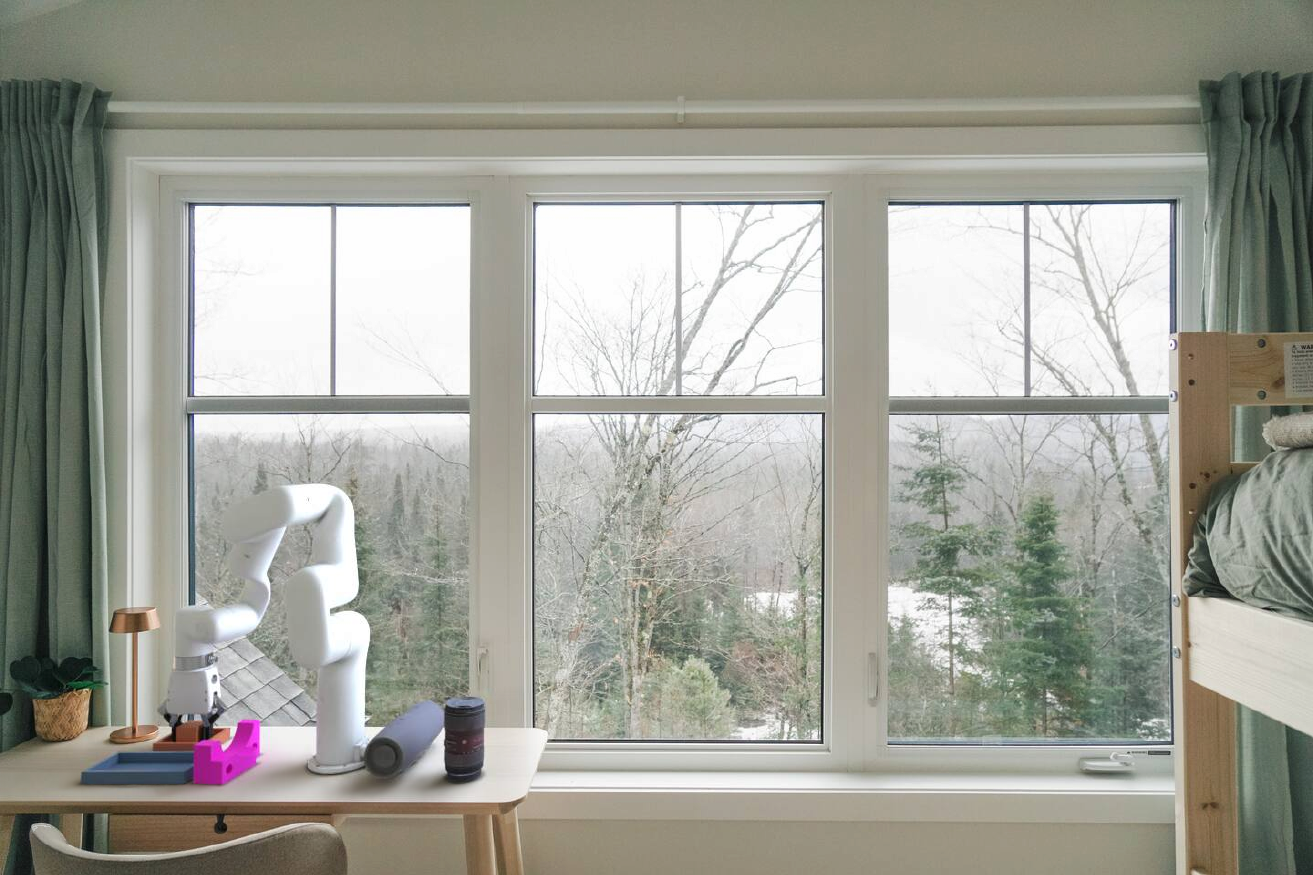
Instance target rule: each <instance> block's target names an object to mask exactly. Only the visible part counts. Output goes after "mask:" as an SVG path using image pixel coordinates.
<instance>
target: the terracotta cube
mask: <svg viewBox="0 0 1313 875" xmlns="http://www.w3.org/2000/svg"><path fill="white" fill-rule="evenodd" d="M182 723H183V724H182V725H180V726H178V727H176V742H201V728H202V727H203V726H204V724H203V721H202V720H187V721H185V722H182Z"/></svg>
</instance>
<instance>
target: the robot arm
mask: <svg viewBox="0 0 1313 875" xmlns="http://www.w3.org/2000/svg"><path fill="white" fill-rule="evenodd" d="M313 523H314V524H316V529H315V531H314V533H313V536H312V541H311V551H312V565H309V566H305V567H303V568H300V569H298V570H297V571H296V572H294V573H293V574H292V576H291V577H290V578H289V580H288V582H287V585H286V587H285V591H284V592H285V593H284V603H285V615H286V616H285V617H286V627H287V628H286V629H287V639H288V640H287V641H288V648H289V652H290V655H291V657H292V659H293V660H294V662H295V663H296V664H297V665H298V666H299V667H301V668H303V669H306V670H317V669H318V673H317V676H316V678H317V679H316V706H315V707H316V709H315V710H316V712H315V713H316V714H315V715H316V716H315V717H316V720H315V722H316V723H315V724H316V726H315V730H316V731H315V732H316V734H315V745H316V746H315V754H313V755H312V756H310V757H309V759H308V761H307V768H308V769H309V770H310V771H311V772H313V773H316V774H326V775H331V774H341V773H347V772H351V771H354V770H358V769H360V768H362V767H364V766H365V764H364V752H365V749H366V747H367V745H368V744H369V743H370V735H365V733H366V732H365V729H366V726H365V724H366V718H365V717H366V716H365V714H366V710H365V709H366V667H367V666H366V665H367V657H368V653H369V652H368V651H369V646H370V641H371V629H370V625H369V622H368V621H367V619H366V618H365V617H364V615H362V614H361V613H359V612H358V611H354V610H342V611H338V612H334V613H331V612H330V610H332V609H334V608H338V607H340V606H341V607H342V606H344V605H346V604H349V603H350V602H352V601H353V600H354V599H355V598H356V597H357V595H358V593H359V584H360V583H359V572H358V560H357V559H358V558H357V549H356V538H355V511H354V507H353V504H352V501H351V499H350V498H349V496H348V494H347V493H345V492H344V491H343V490H342V489H340V488H339V487H336V486H334V485H332V484H327V483H317V482H316V483H315V482H314V483H297V484H286V485H285V484H283V485H277V486H273V487H270V488H267V489H265V490H262V491H261V492H259V493H257V494H254V495H252V496H250V497H248V498H245V499H243V500H241V501H239V502H237V503H234V504H233V505H231V506H230V507H229V508H227V509H226V510H225V512H224V513H223V515H222V517H221V519H220V523H219V529H220V534H221V536H222V538H223V539H224V540H225V541H226V542H228V543H229V544H232V547H231V549H230V552H229V554H228V556H227V559H226V561H225V567H226V569H227V570H228V571H229V572H230V573H231V574H232V575H234V576H235V577H237V578H240V579H243V580H244V584H243V588H242V591H241V594H240V596H239V598H238V599H237V602H235V603H232V604H231V603H230V604H228V605H223V606H219V607H216V608H212V607H211V606H209V605H205V604H193V605H185V606H181V607H179V608H178V609H176V610H175V612H174V616H173V668H171V670H170V672H169V676H168V680H167V687H166V697H165V700H164V701H163V702H162V704H160V705H159V707H158V708H157V713H158V714H160V715H161V716H162V717H163V719H164V720H165V721H166V722H167V724H168V727H170V728H171V733H172V742H176V727H178V726H180V725H182V724H183V723H184V722H182V721H183V718H184V716H185V715H199V716H200V718H201V721H203V724H204V726H203V727H202V728H201V741H203V740H209V739H210V738H212V737H213V728H214V724H215V723H216V722H217V720H218V719H219V718H221V716H222V715H224V714H225V713H226V712H227V711H228V710H229V707H228V706H227V704H226V703H225V702H224V701H223V700H222V693H221V682H220V675H219V671H218V667H217V665H215V664H216V663H218V661H219V657H218V656H215V655H214V652H213V651H214V645H216V644H217V645H218V644H220V643H223V642H227V641H229V640H232V639H236V638H239V637H243V636H245V635H246V636H247V635H249V634H250V633H252V632H253V631H254V630H256V629H257V627H258V626H259V625H260V623H261V621H262V619H263V618H264V615H265V612H266V611H267V609H268V606H269V603H270V600H271V582H270V579H269V577H268V571H269V569H270V566H271V565H272V562H273V559H274V557H275V555H276V552H277V550H278V549H279V546H280V543H281V541H282V539H283V536H284V534H285V532H286V530H287V527H291V526H298V525H305V524H313ZM214 663H215V664H214ZM215 709H216V711H215V712H214V710H215Z"/></svg>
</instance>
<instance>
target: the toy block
mask: <svg viewBox="0 0 1313 875" xmlns="http://www.w3.org/2000/svg"><path fill="white" fill-rule="evenodd" d="M236 725H237V726H236V730H235V731H236V732H235V733H234V736H233V738H232V740H231V742H230V744H229V745H228V746H227V747H226V749H223V746H222V744H221V741H212V740H203V741H201V742H199V743H197V744H195V745H194V777H193V784H201V785H220V786H223V785H224V784H226V783H228V782H229V781H231V780H233V779H235V778H236V777H238V776H239V775H241V774H242V773H244V772H246V771H247V770H249V769H250V768H253V767H254V766H255V765H257V757H258V756H260V755H261V753H260V752H261V751H260V750H261V748H260V747H261V746H260V745H261V719H247V718H244V719H241V720H240V721H238V722H237V724H236Z"/></svg>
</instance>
